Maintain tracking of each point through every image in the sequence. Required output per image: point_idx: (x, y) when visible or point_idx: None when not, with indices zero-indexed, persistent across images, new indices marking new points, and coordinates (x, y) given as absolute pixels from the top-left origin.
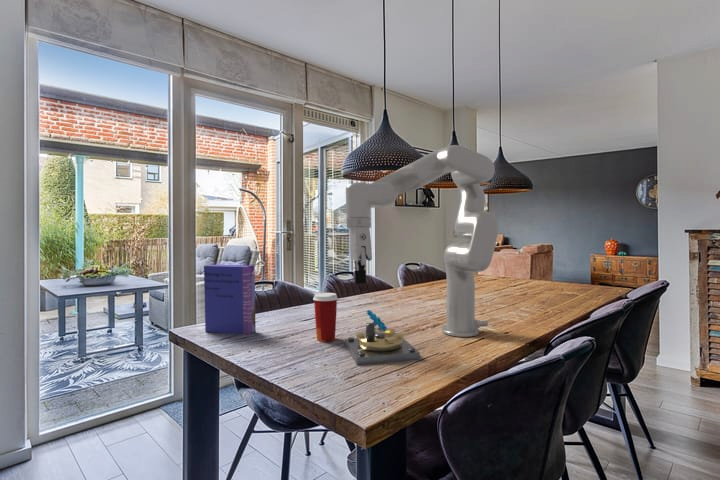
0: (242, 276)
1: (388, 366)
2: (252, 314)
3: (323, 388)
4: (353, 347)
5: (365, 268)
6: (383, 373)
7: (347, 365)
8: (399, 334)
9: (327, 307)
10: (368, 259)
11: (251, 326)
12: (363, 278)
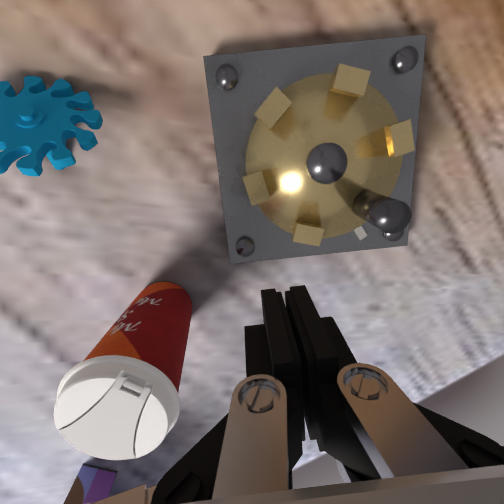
0: None
1: (435, 159)
2: None
3: (501, 312)
4: (320, 246)
5: (396, 386)
6: (475, 182)
7: (394, 261)
8: (359, 85)
9: (178, 374)
10: (476, 490)
11: (94, 487)
12: (337, 328)
